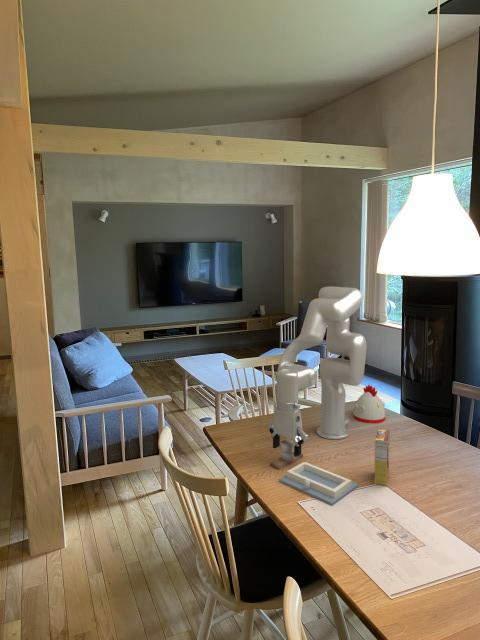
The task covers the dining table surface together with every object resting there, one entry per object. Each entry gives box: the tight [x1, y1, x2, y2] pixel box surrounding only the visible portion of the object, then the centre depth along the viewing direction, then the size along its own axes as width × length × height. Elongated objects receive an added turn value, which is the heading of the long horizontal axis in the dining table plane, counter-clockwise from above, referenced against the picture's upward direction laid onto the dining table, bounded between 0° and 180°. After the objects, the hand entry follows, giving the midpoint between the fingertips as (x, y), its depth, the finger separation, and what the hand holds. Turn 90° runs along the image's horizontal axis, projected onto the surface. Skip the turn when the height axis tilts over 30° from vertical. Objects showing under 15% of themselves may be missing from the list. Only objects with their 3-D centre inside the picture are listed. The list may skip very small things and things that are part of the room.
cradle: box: [278, 461, 360, 506], centre depth 147 cm, size 15×20×3 cm
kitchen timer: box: [352, 384, 386, 425], centre depth 202 cm, size 14×14×15 cm
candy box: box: [373, 429, 391, 487], centre depth 149 cm, size 9×4×15 cm, turn 158°
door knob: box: [269, 439, 304, 470], centre depth 162 cm, size 13×4×8 cm, turn 132°
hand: (286, 451), depth 162 cm, fingers open, 9 cm apart
